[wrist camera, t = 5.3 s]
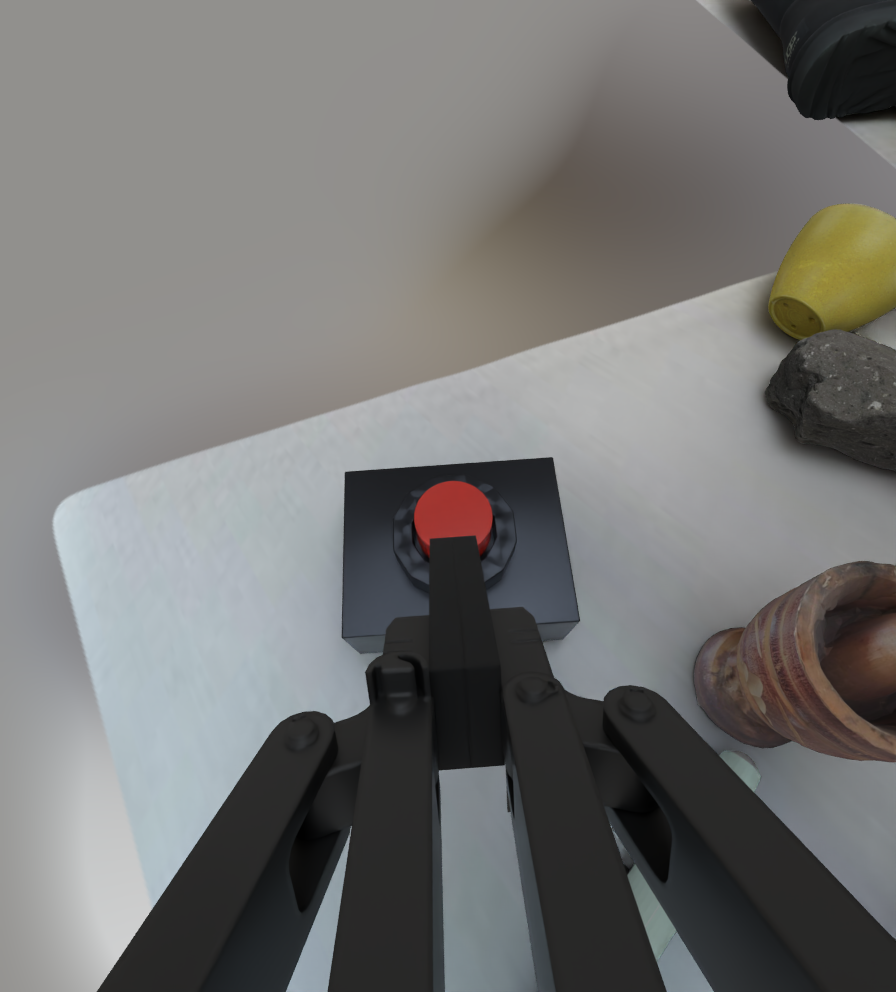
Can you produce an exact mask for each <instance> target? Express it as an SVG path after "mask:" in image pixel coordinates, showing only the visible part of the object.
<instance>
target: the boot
mask: <svg viewBox="0 0 896 992" xmlns="http://www.w3.org/2000/svg"><path fill="white" fill-rule="evenodd" d="M751 1H752V2H753V4H754V5H755V6H756V7H757V8H758V9H759V11H760V12H761V13H762V15H763V16H764V17H765V19H766V20H767V21H768V23H769V24H770V25H771V27H772V28H773V29H774V30H775V32H776V33H777V35H778V36H779V37H780V38H781V41H782V45H783V54H784V62H785V70H786V74H787V76H788V84H787V88H788V95H789V97H790V99H791V100H792V101H793V102H794V103H795V105H796V107H797V109H798V110H799V112H800V114H802V115H803V116H804V117H805V118H813V119H814V120H823V119H825V118H830V119H833V118H835V117H840V118H841V117H844V116H845V115H848V114H853V113H868V112H873V111H877V110H883V109H887V108H889V107H891V106H896V0H751Z"/></svg>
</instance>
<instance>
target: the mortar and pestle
mask: <svg viewBox="0 0 896 992" xmlns="http://www.w3.org/2000/svg"><path fill="white" fill-rule="evenodd" d="M694 683H695V689H696V695H697V702H698V705H699V706H700V707H702V708H703V709H704V710H705V712H706V713H707V715H708V716H709V718H710V719H711V720H712V721H713V722H714V723H715V724H716V725H717V726H718V727H719V728H721V729H722V730H723V731H725V732H726V733H727V734H729V735H730V736H732V737H733V738H735V739H737V740H739V741H740V742H742V743H744V744H748V745H751V746H754V747H760V748H773V747H777V746H780V745H783V744H785V743H788V742H790V741H791V740H792V741H794V742H797V743H799V744H800V745H802V746H804V747H807V748H809V749H812V750H814V751H817V752H819V753H823V754H827V755H831V756H835V757H840V758H845V759H851V760H860V761H864V760H876V761H885V762H896V566H894V565H891V564H879V563H874V562H870V561H858V562H852V563H847V564H844V565H840V566H836V567H833V568H830V569H828V570H826V571H825V572H823V573H821V574H820V575H818V576H816V577H814V578H812V579H811V580H809V581H807V582H805V583H803V584H801V585H800V586H799V587H796V588H794V589H792V590H790V591H788V592H787V593H785V594H783V595H781V596H780V597H778V598H776V599H774V600H773V601H771V602H770V603H768V604H767V605H766V606H765V607H764V608H762V610H761V611H760V612H759V613H758V614H757V615H756V616H755V617H754V618H753V620H752V621H751V622H750V623H749V624H748V626H747V627H746V628H743V627H741V628H730V629H728V630H724V631H720V632H718V633H716V634H715V635H713V636H712V637H711V638H709V639H708V640H707V641H706V643H705V644H704V645H703V647H702V649H701V651H700V653H699V655H698V657H697V660H696V664H695V669H694Z"/></svg>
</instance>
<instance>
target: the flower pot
mask: <svg viewBox="0 0 896 992" xmlns="http://www.w3.org/2000/svg"><path fill="white" fill-rule="evenodd" d="M894 308H896V218H894V217H893V216H891V215H889V214H887V213H885V212H883V211H881V210H878V209H876V208H872V207H869V206H865V205H860V204H837V205H833V206H829V207H827V208H824V209H822V210H820V211H819V212H817V213H816V214H815V215H813V216H812V217H811V218H810V220H809V221H808V222H807V223H806V225H805V226H804V227H803V228H802V230H801V231H800V233H799V234H798V235H797V237H796V238H795V240H794V242H793V243H792V245H791V247H790V248H789V250H788V252H787V254H786V255H785V257H784V259H783V262H782V264H781V266H780V268H779V271H778V273H777V275H776V278H775V281H774V284H773V287H772V291H771V295H770V300H769V305H768V309H769V314H770V316H771V318H772V320H773V321H774V322H775V324H776V325H777V326H778V327H779V328H780V329H781V330H782V331H784V332H785V333H786V334H788V335H790V336H792V337H793V338H796V339H799V340H802V339H805V338H808V337H811V336H812V335H814V334H816V333H820V332H824V331H828V330H833V329H837V330H843V331H846V332H848V331H851V330H853V329H856V328H858V327H860V326H863V325H865V324H867V323H869V322H871V321H873V320H875V319H877V318H879V317H881V316H882V315H884V314H886V313H887V312H889V311H891V310H892V309H894Z"/></svg>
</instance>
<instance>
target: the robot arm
mask: <svg viewBox="0 0 896 992" xmlns="http://www.w3.org/2000/svg"><path fill="white" fill-rule="evenodd" d="M365 673H366V680H367V687H368V694H369V700H370V706H369V707H368V708H367V709H365V710H364V711H362V712H361V713H359V714H358V715H355V716H353V717H351V718H348V719H345V720H342V721H339V722H336V723H333V720H332V719H331V718H330V717H328V716H327V715H326V714H324V713H320V712H317V711H311V712H302V713H298V714H295V715H292V716H290V717H288V718H287V719H285V720H284V721H282V722H280V723H279V724H278V725H277V727H276V728H275V729H274V730H273V731H272V732H271V734H270V735H269V737H268V738H267V739H266V741H265V742H264V744H263V745H262V747H261V748H260V750H259V751H258V753H257V754H256V756H255V757H254V759H253V760H252V762H251V763H250V765H249V766H248V768H247V769H246V771H245V772H244V774H243V775H242V777H241V778H240V780H239V781H238V783H237V784H236V786H235V787H234V789H233V790H232V792H231V793H230V795H229V796H228V797H227V799H226V800H225V802H224V803H223V805H222V806H221V808H220V809H219V811H218V812H217V814H216V815H215V817H214V818H213V820H212V821H211V823H210V824H209V826H208V827H207V829H206V830H205V832H204V833H203V835H202V836H201V838H200V839H199V841H198V842H197V844H196V845H195V847H194V848H193V850H192V851H191V852H190V854H189V855H188V857H187V858H186V860H185V861H184V863H183V864H182V866H181V867H180V869H179V870H178V872H177V873H176V875H175V876H174V878H173V879H172V881H171V882H170V884H169V885H168V887H167V888H166V890H165V891H164V893H163V894H162V896H161V897H160V899H159V900H158V902H157V903H156V905H155V906H154V908H153V909H152V910H151V912H150V913H149V915H148V916H147V918H146V919H145V921H144V922H143V924H142V925H141V927H140V928H139V930H138V931H137V933H136V934H135V936H134V937H133V939H132V940H131V942H130V943H129V945H128V946H127V948H126V949H125V951H124V952H123V954H122V955H121V957H120V958H119V960H118V961H117V963H116V964H115V965H114V967H113V969H112V970H111V971H110V973H109V974H108V976H107V977H106V979H105V980H104V982H103V983H102V985H101V986H100V988H99V989H98V991H97V992H286V990H287V987H288V985H289V982H290V980H291V977H292V975H293V972H294V970H295V967H296V965H297V962H298V960H299V957H300V955H301V952H302V950H303V947H304V945H305V942H306V940H307V938H308V935H309V933H310V930H311V928H312V925H313V923H314V920H315V918H316V915H317V913H318V910H319V908H320V905H321V903H322V900H323V898H324V895H325V893H326V890H327V888H328V885H329V883H330V880H331V878H332V876H333V873H334V871H335V868H336V866H337V863H338V861H339V858H340V856H341V853H342V851H343V848H344V846H345V843H346V841H347V838H348V836H349V833H350V828H351V826H352V830H351V837H350V843H349V850H348V857H347V864H346V871H345V877H344V884H343V891H342V898H341V905H340V911H339V918H338V925H337V932H336V939H335V945H334V952H333V959H332V966H331V972H330V979H329V986H328V992H445V974H444V929H443V884H442V839H441V794H440V782H439V770H450V769H463V768H476V767H489V766H502V765H506V784H507V809H508V812H511V818H512V825H513V831H514V838H515V845H516V851H517V858H518V864H519V871H520V877H521V884H522V891H523V897H524V904H525V910H526V917H527V923H528V930H529V937H530V943H531V950H532V956H533V963H534V969H535V976H536V983H537V989H538V992H667V991H666V988H665V986H664V983H663V980H662V977H661V974H660V971H659V968H658V965H657V962H656V959H655V956H654V953H653V950H652V947H651V944H650V941H649V938H648V935H647V932H646V929H645V926H644V923H643V920H642V918H641V915H640V912H639V909H638V906H637V903H636V900H635V897H634V894H633V891H632V888H631V885H630V882H629V879H628V876H627V873H626V870H625V867H624V864H623V861H622V858H621V855H620V852H619V850H618V847H617V844H616V841H615V838H614V835H613V832H612V829H611V826H612V827H613V829H614V830H615V832H616V834H617V835H618V837H619V838H620V840H621V842H622V843H623V845H624V847H625V848H626V850H627V851H628V853H629V855H630V856H631V858H632V860H633V861H634V863H635V864H636V866H637V868H638V869H639V871H640V872H641V874H642V876H643V877H644V879H645V881H646V882H647V884H648V885H649V887H650V889H651V890H652V892H653V894H654V895H655V897H656V898H657V900H658V902H659V903H660V905H661V906H662V908H663V910H664V911H665V913H666V915H667V916H668V918H669V919H670V921H671V923H672V924H673V926H674V928H675V929H676V931H677V932H678V934H679V936H680V937H681V939H682V940H683V942H684V944H685V945H686V947H687V949H688V950H689V952H690V953H691V955H692V957H693V958H694V960H695V962H696V963H697V965H698V966H699V968H700V970H701V971H702V973H703V974H704V976H705V978H706V979H707V981H708V983H709V984H710V986H711V987H712V989H713V991H714V992H896V940H895V939H894V938H893V937H892V936H891V935H890V934H889V933H888V932H887V931H886V930H885V929H884V928H883V927H882V926H881V925H880V924H879V923H878V922H877V921H876V919H875V918H874V917H873V916H872V915H871V914H870V913H869V912H868V911H867V910H866V909H865V908H864V907H863V906H862V905H861V904H860V903H859V902H858V901H857V900H856V899H855V898H854V896H853V895H852V894H851V893H850V892H849V891H848V890H847V889H846V888H845V887H844V886H843V885H842V884H841V883H840V882H839V881H838V880H837V879H836V878H835V877H834V876H833V874H832V873H831V872H830V871H829V870H828V869H827V868H826V867H825V866H824V865H823V864H822V863H821V862H820V861H819V860H818V859H817V858H816V857H815V856H814V855H813V854H812V853H811V851H810V850H809V849H808V848H807V847H806V846H805V845H804V844H803V843H802V842H801V841H800V840H799V839H798V838H797V837H796V836H795V835H794V834H793V833H792V832H791V831H790V830H789V828H788V827H787V826H786V825H785V824H784V823H783V822H782V821H781V820H780V819H779V818H778V817H777V816H776V815H775V814H774V813H773V812H772V811H771V810H770V809H769V808H768V806H767V805H766V804H765V803H764V802H763V801H762V800H761V799H760V798H759V797H758V796H757V795H756V794H755V793H754V792H753V791H752V790H751V789H750V788H749V787H748V786H747V785H746V783H745V782H744V781H743V780H742V779H741V778H740V777H739V776H738V775H737V774H736V773H735V772H734V771H733V770H732V769H731V768H730V767H729V766H728V765H727V764H726V763H725V761H724V760H723V759H722V758H721V757H720V756H719V755H718V754H717V753H716V752H715V751H714V750H713V749H712V748H711V747H710V746H709V745H708V744H707V743H706V742H705V741H704V740H703V738H702V737H701V736H700V735H699V734H698V733H697V732H696V731H695V730H694V729H693V728H692V727H691V726H690V725H689V724H688V723H687V722H686V721H685V720H684V719H683V718H682V717H681V715H680V714H679V713H678V712H677V711H676V710H675V709H674V708H673V707H672V706H671V705H670V704H669V703H668V702H667V701H666V700H665V699H664V698H663V697H661V696H660V695H659V694H657V693H656V692H654V691H651V690H649V689H647V688H644V687H638V686H632V685H629V686H620V687H617V688H615V689H613V690H610V691H609V692H608V693H607V695H606V696H605V697H604V701H598V700H592V699H586V698H582V697H578V696H576V695H573V694H571V693H569V692H567V691H566V690H564V688H563V686H562V685H561V683H560V682H559V681H558V680H557V679H555V678H554V676H553V673H552V670H551V667H550V664H549V661H548V658H547V655H546V652H545V649H544V646H543V643H542V641H541V637H540V634H539V631H538V627H537V624H536V621H535V618H534V616H533V615H532V614H531V613H530V612H528V611H527V610H526V609H525V608H524V607H512V608H499V609H490V607H489V602H488V596H487V591H486V586H485V581H484V575H483V570H482V565H481V560H480V554H479V549H478V544H477V539H476V535H472V536H459V537H445V538H432V539H430V554H429V615H423V616H410V617H396V618H395V619H394V620H393V621H392V622H391V624H390V625H389V626H388V627H387V629H386V634H385V644H384V649H383V655H381V656H379V657H377V658H376V659H375V660H374V661H372V662H371V663H370V664H369V666H368V668H367V670H366V672H365ZM504 759H505V760H504ZM609 822H610V823H609ZM610 824H611V826H610Z"/></svg>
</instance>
